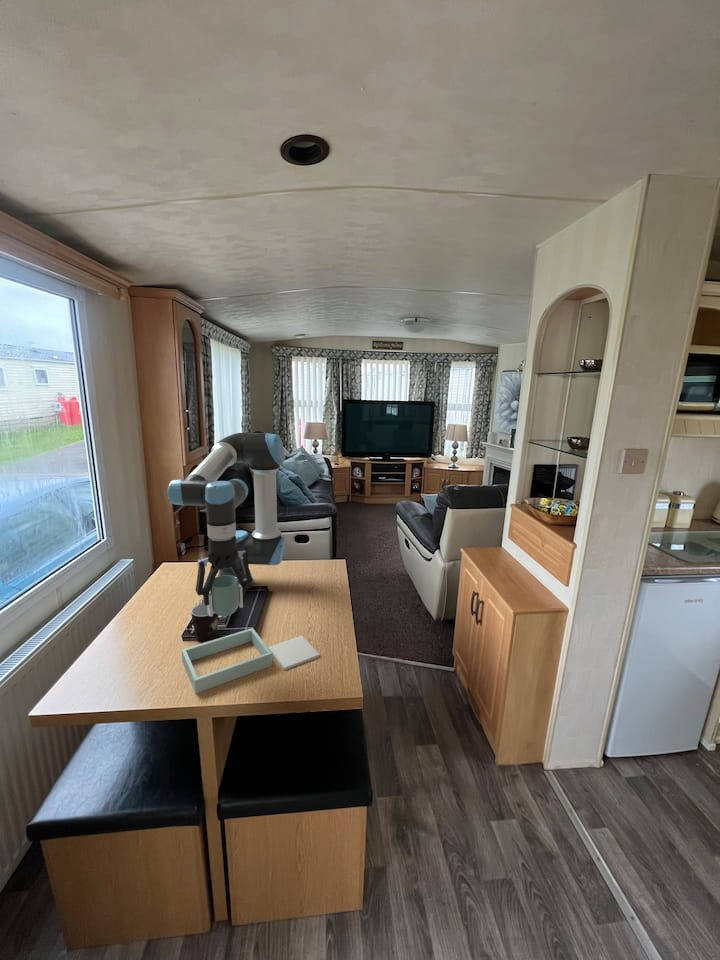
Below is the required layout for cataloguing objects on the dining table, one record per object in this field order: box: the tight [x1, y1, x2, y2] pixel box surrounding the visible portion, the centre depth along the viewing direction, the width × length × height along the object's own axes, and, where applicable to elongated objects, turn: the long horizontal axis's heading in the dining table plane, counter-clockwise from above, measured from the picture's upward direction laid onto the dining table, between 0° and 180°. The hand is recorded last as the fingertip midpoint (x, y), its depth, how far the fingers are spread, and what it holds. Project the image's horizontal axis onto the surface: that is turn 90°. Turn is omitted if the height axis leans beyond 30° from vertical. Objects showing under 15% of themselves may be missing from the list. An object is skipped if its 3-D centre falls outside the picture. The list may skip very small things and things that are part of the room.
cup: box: [210, 575, 239, 617], centre depth 118 cm, size 8×8×10 cm
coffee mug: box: [187, 602, 219, 643], centre depth 133 cm, size 12×9×10 cm
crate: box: [181, 627, 273, 695], centre depth 122 cm, size 16×22×4 cm
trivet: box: [267, 635, 321, 671], centre depth 128 cm, size 12×12×1 cm
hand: (225, 609), depth 119 cm, fingers closed on cup, 8 cm apart
